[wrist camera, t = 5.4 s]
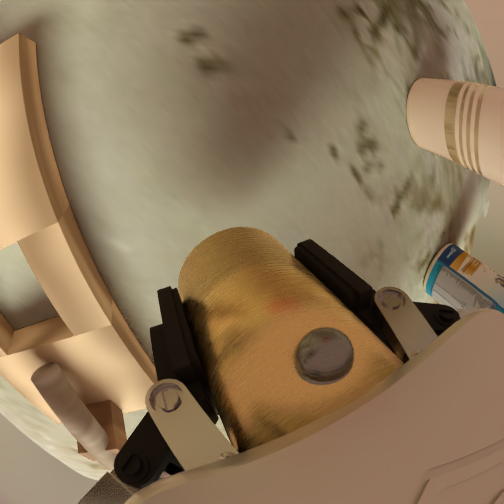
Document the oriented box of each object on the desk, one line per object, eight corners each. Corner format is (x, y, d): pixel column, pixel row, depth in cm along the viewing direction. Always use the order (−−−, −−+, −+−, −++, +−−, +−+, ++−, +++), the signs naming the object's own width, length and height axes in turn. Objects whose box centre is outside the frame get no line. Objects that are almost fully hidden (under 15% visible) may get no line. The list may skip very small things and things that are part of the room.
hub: (279, 197, 11) (452, 316, 4) (289, 312, 14) (383, 429, 8) (157, 233, 10) (215, 452, 3) (200, 346, 13) (263, 493, 6)
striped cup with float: (383, 124, 17) (530, 174, 7) (410, 46, 14) (540, 66, 5) (433, 173, 22) (530, 223, 12) (454, 107, 19) (549, 141, 10)
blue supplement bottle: (415, 280, 30) (521, 375, 14) (449, 230, 29) (558, 311, 13) (426, 298, 35) (511, 376, 19) (455, 255, 33) (543, 325, 18)
